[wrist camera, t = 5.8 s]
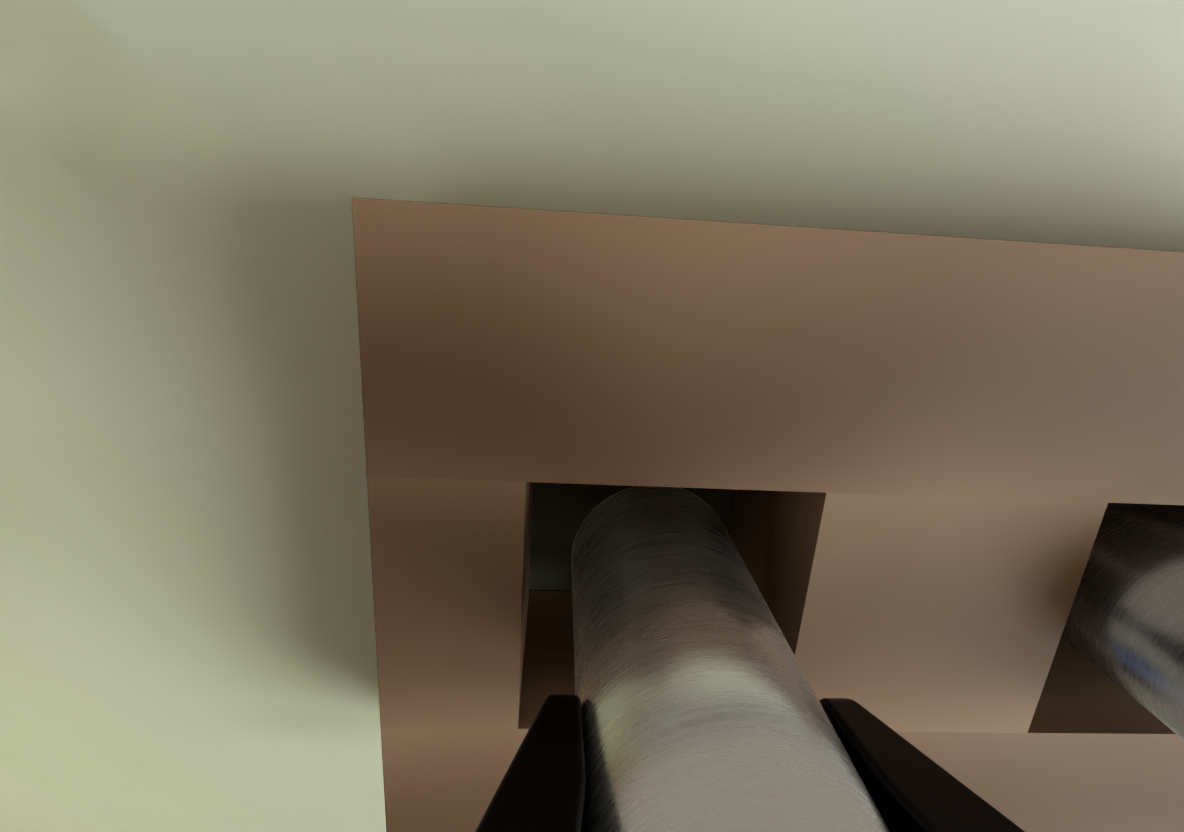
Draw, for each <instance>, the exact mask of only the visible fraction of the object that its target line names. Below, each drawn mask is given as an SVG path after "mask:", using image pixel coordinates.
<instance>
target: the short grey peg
mask: <svg viewBox="0 0 1184 832" xmlns="http://www.w3.org/2000/svg"><path fill="white" fill-rule="evenodd" d="M1061 639H1062V640H1064V641H1065V642H1066V643H1067V644H1068V645H1070V646H1071V647H1072V648H1073V649H1074V650H1076V651H1077V652H1078V653H1079V654H1081V655H1082V656H1083V657H1084V658H1085V659H1087V660H1088V661H1089V662H1090V663H1091V664H1093V665H1094V666H1095V667H1096V668H1097V669H1099V670H1100V671H1101V672H1102V673H1103V674H1105V675H1106V676H1107V677H1108V678H1109V679H1111V680H1112V681H1113V682H1114V683H1116V684H1117V685H1118V686H1119V687H1120V688H1122V689H1123V690H1124V691H1125V692H1126V693H1128V694H1129V695H1130V696H1131V697H1132V698H1134V699H1135V700H1136V701H1137V702H1138V703H1140V704H1141V705H1142V706H1143V707H1144V708H1146V709H1147V710H1148V711H1149V712H1151V713H1152V714H1153V715H1154V716H1155V717H1157V718H1158V719H1159V720H1160V721H1161V722H1163V723H1164V724H1165V725H1166V726H1167V727H1169V728H1170V729H1171V730H1172V731H1173V732H1175V733H1176V734H1177V735H1178V736H1179V737H1181V738H1182V739H1183V740H1184V523H1183V522H1181V521H1179V520H1177V519H1175V518H1173V517H1171V516H1169V515H1167V514H1165V513H1163V512H1160V511H1158V510H1156V509H1154V508H1152V507H1150V506H1148V505H1146V504H1133V503H1108V505H1107V508H1106V510H1105V513H1104V516H1103V519H1102V522H1101V525H1100V527H1099V530H1098V533H1097V536H1096V539H1095V542H1094V545H1093V547H1092V550H1091V553H1090V556H1089V559H1088V562H1087V565H1086V567H1085V570H1084V573H1083V576H1082V579H1081V582H1080V585H1079V587H1078V590H1077V593H1076V596H1075V599H1074V602H1073V604H1072V607H1071V610H1070V613H1069V616H1068V619H1067V622H1066V624H1065V627H1064V630H1063V633H1062V636H1061Z"/></svg>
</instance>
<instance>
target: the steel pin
mask: <svg viewBox="0 0 1184 832" xmlns="http://www.w3.org/2000/svg"><path fill="white" fill-rule="evenodd" d="M571 570H572V602H573V635H574V668H575V695H578V696H579V697H580V699H581V709H582V723H583V737H584V751H585V766H586V789H585V802H584V815H583V828H582V832H890V831H889V829H888V827H887V825H886V823H885V822H884V820H883V818H882V816H881V814H880V812H879V811H878V809H877V807H876V805H875V803H874V801H873V799H872V798H871V796H870V794H869V792H868V790H867V788H866V787H865V785H864V783H863V781H862V779H861V777H860V775H859V774H858V772H857V770H856V768H855V766H854V764H853V762H852V761H851V759H850V757H849V755H848V753H847V751H846V750H845V748H844V746H843V744H842V742H841V740H840V738H839V737H838V735H837V733H836V731H835V729H834V727H833V726H832V724H831V722H830V720H829V718H828V716H827V714H826V713H825V711H824V709H823V707H822V705H821V703H820V701H819V700H818V698H817V696H816V694H815V692H814V690H813V689H812V687H811V685H810V683H809V681H808V679H807V677H806V676H805V674H804V672H803V670H802V668H801V666H800V665H799V663H798V661H797V659H796V657H795V655H794V653H793V652H792V650H791V648H790V646H789V644H788V642H787V640H786V639H785V637H784V635H783V633H782V631H781V629H780V628H779V626H778V624H777V622H776V620H775V618H774V616H773V615H772V613H771V611H770V609H769V607H768V605H767V604H766V602H765V600H764V598H763V596H762V594H761V592H760V591H759V589H758V587H757V585H756V583H755V581H754V579H753V578H752V576H751V574H750V572H749V570H748V568H747V567H746V565H745V563H744V561H743V559H742V557H741V555H740V554H739V552H738V550H737V548H736V546H735V544H734V543H733V541H732V539H731V537H730V535H729V533H728V531H727V530H726V528H725V526H724V524H723V522H722V521H721V519H720V517H719V515H718V514H717V513H716V512H715V510H714V509H713V508H712V507H711V506H710V505H709V504H708V503H707V502H706V501H704V500H703V499H701V498H700V497H699V496H697V495H695V494H693V493H691V492H689V491H687V490H684V489H681V488H678V487H653V486H635V487H631V488H628V489H625V490H622V491H620V492H617V493H615V494H613V495H612V496H610V497H608V498H606V499H605V500H603V501H602V502H601V503H599V504H598V505H597V506H596V507H595V508H594V509H593V510H592V511H591V512H590V513H589V514H588V515H587V516H586V518H585V519H584V520H583V522H582V524H581V525H580V527H579V529H578V531H577V533H576V535H575V538H574V542H573V545H572V553H571Z"/></svg>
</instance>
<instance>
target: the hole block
mask: <svg viewBox="0 0 1184 832" xmlns="http://www.w3.org/2000/svg"><path fill="white" fill-rule="evenodd" d="M352 213H353V231H354V249H355V267H356V286H357V304H358V322H359V340H360V358H361V376H362V395H363V413H364V431H365V449H366V467H367V486H368V504H369V522H370V540H371V558H372V576H373V595H374V613H375V631H376V649H377V667H378V686H379V704H380V722H381V740H382V758H383V776H384V795H385V813H386V831H387V832H475V830H476V828H477V826H478V824H479V823H480V821H481V819H482V817H483V815H484V813H485V811H486V809H487V807H488V806H489V804H490V802H491V800H492V798H493V796H494V794H495V792H496V790H497V789H498V787H499V785H500V783H501V781H502V779H503V777H504V775H505V773H506V772H507V770H508V768H509V766H510V764H511V762H512V760H513V758H514V756H515V755H516V753H517V751H518V749H519V747H520V745H521V743H522V741H523V739H524V738H525V736H526V734H527V732H528V730H529V728H530V726H531V724H532V722H533V721H534V719H535V717H536V715H537V713H538V711H539V709H540V707H541V705H542V704H543V702H544V700H545V698H546V697H547V696H548V695H550V694H575V668H574V635H573V602H572V592H569V591H529V583H530V555H531V526H532V497H533V482H540V483H568V484H596V485H625V486H653V487H681V488H709V489H736V496H735V503H734V510H733V517H732V524H731V531H730V537H731V539H732V541H733V543H734V544H735V546H736V548H737V550H738V552H739V554H740V555H741V557H742V559H743V561H744V563H745V565H746V567H747V568H748V570H749V572H750V574H751V576H752V578H753V579H754V581H755V583H756V585H757V587H758V589H759V591H760V592H761V594H762V596H763V598H764V600H765V602H766V604H767V605H768V607H769V609H770V611H771V613H772V615H773V616H774V618H775V620H776V622H777V624H778V626H779V628H780V629H781V631H782V633H783V635H784V637H785V639H786V640H787V642H788V644H789V646H790V648H791V650H792V652H793V653H794V655H795V657H796V659H797V661H798V663H799V665H800V666H801V668H802V670H803V672H804V674H805V676H806V677H807V679H808V681H809V683H810V685H811V687H812V689H813V690H814V692H815V694H816V696H817V698H818V700H821V699H823V698H848V699H852V700H854V701H856V702H857V703H859V704H860V705H861V706H863V707H864V708H865V709H867V710H868V711H869V712H871V713H872V714H873V715H874V716H876V717H877V718H878V719H880V720H881V721H882V722H883V723H885V724H886V725H887V726H889V727H890V728H891V729H893V730H894V731H895V732H896V733H898V734H899V735H900V736H902V737H903V738H904V739H906V740H907V741H908V742H909V743H911V744H912V745H913V746H915V747H916V748H917V749H919V750H920V751H921V752H922V753H924V754H925V755H926V756H928V757H929V758H930V759H932V760H933V761H934V762H935V763H937V764H938V765H939V766H941V767H942V768H943V769H944V770H946V771H947V772H948V773H950V774H951V775H952V776H954V777H955V778H956V779H957V780H959V781H960V782H961V783H963V784H964V785H965V786H967V787H968V788H969V789H970V790H972V791H973V792H974V793H976V794H977V795H978V796H980V797H981V798H982V799H983V800H985V801H986V802H987V803H989V804H990V805H991V806H993V807H994V808H995V809H996V810H998V811H999V812H1000V813H1002V814H1003V815H1004V816H1005V817H1007V818H1008V819H1009V820H1011V821H1012V822H1013V823H1015V824H1016V825H1017V826H1018V827H1020V828H1021V829H1022V830H1024V831H1025V832H1184V740H1183V739H1182V738H1181V737H1179V736H1178V735H1177V734H1176V733H1175V732H1173V731H1172V730H1171V729H1170V728H1169V727H1167V726H1166V725H1165V724H1164V723H1163V722H1161V721H1160V720H1159V719H1158V718H1157V717H1155V716H1154V715H1153V714H1152V713H1151V712H1149V711H1148V710H1147V709H1146V708H1144V707H1143V706H1142V705H1141V704H1140V703H1138V702H1137V701H1136V700H1135V699H1134V698H1132V697H1131V696H1130V695H1129V694H1128V693H1126V692H1125V691H1124V690H1123V689H1122V688H1120V687H1119V686H1118V685H1117V684H1116V683H1114V682H1113V681H1112V680H1111V679H1109V678H1108V677H1107V676H1106V675H1105V674H1103V673H1102V672H1101V671H1100V670H1099V669H1097V668H1096V667H1095V666H1094V665H1093V664H1091V663H1090V662H1089V661H1088V660H1087V659H1085V658H1084V657H1083V656H1082V655H1081V654H1079V653H1078V652H1077V651H1076V650H1074V649H1073V648H1072V647H1071V646H1070V645H1068V644H1067V643H1066V642H1065V641H1064V640H1062V639H1061V636H1062V633H1063V630H1064V627H1065V624H1066V622H1067V619H1068V616H1069V613H1070V610H1071V607H1072V604H1073V602H1074V599H1075V596H1076V593H1077V590H1078V587H1079V585H1080V582H1081V579H1082V576H1083V573H1084V570H1085V567H1086V565H1087V562H1088V559H1089V556H1090V553H1091V550H1092V547H1093V545H1094V542H1095V539H1096V536H1097V533H1098V530H1099V527H1100V525H1101V522H1102V519H1103V516H1104V513H1105V510H1106V508H1107V505H1108V503H1133V504H1146V505H1148V506H1150V507H1152V508H1154V509H1156V510H1158V511H1160V512H1163V513H1165V514H1167V515H1169V516H1171V517H1173V518H1175V519H1177V520H1179V521H1181V522H1183V523H1184V252H1174V251H1159V250H1144V249H1129V248H1113V247H1098V246H1083V245H1068V244H1053V243H1037V242H1022V241H1007V240H992V239H977V238H961V237H946V236H931V235H916V234H901V233H885V232H870V231H855V230H840V229H825V228H809V227H794V226H779V225H764V224H749V223H733V222H718V221H703V220H688V219H673V218H658V217H642V216H627V215H612V214H597V213H582V212H566V211H551V210H536V209H521V208H506V207H490V206H475V205H460V204H445V203H430V202H414V201H399V200H384V199H369V198H354V197H352Z"/></svg>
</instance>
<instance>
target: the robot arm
mask: <svg viewBox="0 0 1184 832" xmlns="http://www.w3.org/2000/svg"><path fill="white" fill-rule="evenodd" d="M819 701H820V703H821V705H822V707H823V709H824V711H825V713H826V714H827V716H828V718H829V720H830V722H831V724H832V726H833V727H834V729H835V731H836V733H837V735H838V737H839V738H840V740H841V742H842V744H843V746H844V748H845V750H846V751H847V753H848V755H849V757H850V759H851V761H852V762H853V764H854V766H855V768H856V770H857V772H858V774H859V775H860V777H861V779H862V781H863V783H864V785H865V787H866V788H867V790H868V792H869V794H870V796H871V798H872V799H873V801H874V803H875V805H876V807H877V809H878V811H879V812H880V814H881V816H882V818H883V820H884V822H885V823H886V825H887V827H888V829H889V831H890V832H1025V831H1024V830H1022V829H1021V828H1020V827H1018V826H1017V825H1016V824H1015V823H1013V822H1012V821H1011V820H1009V819H1008V818H1007V817H1005V816H1004V815H1003V814H1002V813H1000V812H999V811H998V810H996V809H995V808H994V807H993V806H991V805H990V804H989V803H987V802H986V801H985V800H983V799H982V798H981V797H980V796H978V795H977V794H976V793H974V792H973V791H972V790H970V789H969V788H968V787H967V786H965V785H964V784H963V783H961V782H960V781H959V780H957V779H956V778H955V777H954V776H952V775H951V774H950V773H948V772H947V771H946V770H944V769H943V768H942V767H941V766H939V765H938V764H937V763H935V762H934V761H933V760H932V759H930V758H929V757H928V756H926V755H925V754H924V753H922V752H921V751H920V750H919V749H917V748H916V747H915V746H913V745H912V744H911V743H909V742H908V741H907V740H906V739H904V738H903V737H902V736H900V735H899V734H898V733H896V732H895V731H894V730H893V729H891V728H890V727H889V726H887V725H886V724H885V723H883V722H882V721H881V720H880V719H878V718H877V717H876V716H874V715H873V714H872V713H871V712H869V711H868V710H867V709H865V708H864V707H863V706H861V705H860V704H859V703H857V702H856V701H854V700H852V699H848V698H823V699H821V700H819ZM585 789H586V766H585V751H584V737H583V723H582V709H581V699H580V697H579V696H578V695H575V694H550V695H548V696H547V697H546V698H545V700H544V702H543V704H542V705H541V707H540V709H539V711H538V713H537V715H536V717H535V719H534V721H533V722H532V724H531V726H530V728H529V730H528V732H527V734H526V736H525V738H524V739H523V741H522V743H521V745H520V747H519V749H518V751H517V753H516V755H515V756H514V758H513V760H512V762H511V764H510V766H509V768H508V770H507V772H506V773H505V775H504V777H503V779H502V781H501V783H500V785H499V787H498V789H497V790H496V792H495V794H494V796H493V798H492V800H491V802H490V804H489V806H488V807H487V809H486V811H485V813H484V815H483V817H482V819H481V821H480V823H479V824H478V826H477V828H476V830H475V832H582V828H583V815H584V802H585Z"/></svg>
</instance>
